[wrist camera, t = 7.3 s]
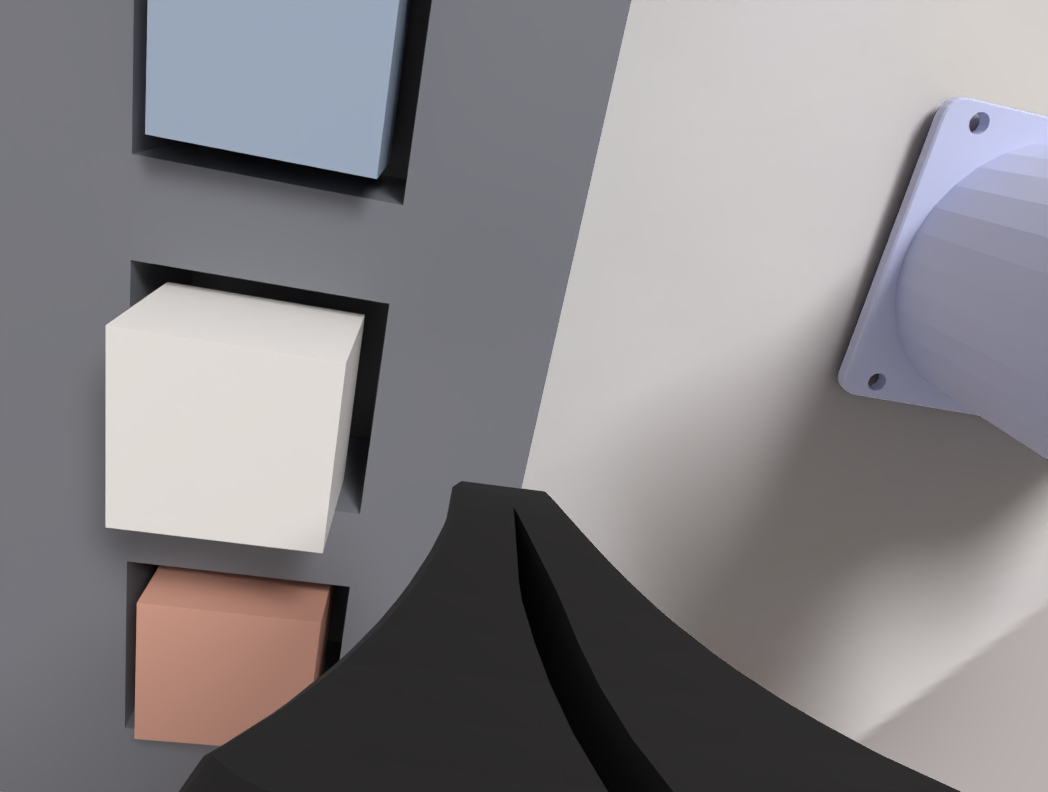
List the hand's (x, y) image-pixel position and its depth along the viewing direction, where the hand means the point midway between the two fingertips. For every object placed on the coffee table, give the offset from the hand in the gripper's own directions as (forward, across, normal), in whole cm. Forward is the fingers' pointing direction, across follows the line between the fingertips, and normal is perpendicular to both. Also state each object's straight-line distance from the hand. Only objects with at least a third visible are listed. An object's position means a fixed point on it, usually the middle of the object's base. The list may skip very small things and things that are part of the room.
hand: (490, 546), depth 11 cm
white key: (+7, +5, +1) cm, 8 cm away
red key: (+8, +4, +8) cm, 12 cm away
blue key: (+8, +4, -6) cm, 11 cm away
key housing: (+10, +4, +1) cm, 11 cm away
